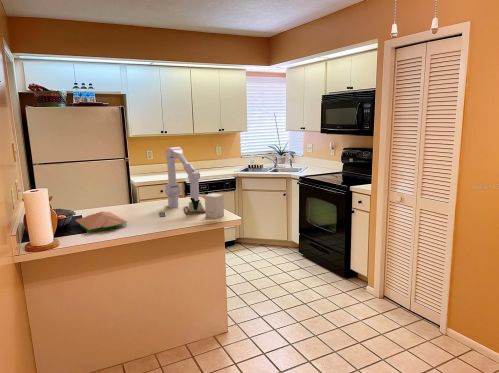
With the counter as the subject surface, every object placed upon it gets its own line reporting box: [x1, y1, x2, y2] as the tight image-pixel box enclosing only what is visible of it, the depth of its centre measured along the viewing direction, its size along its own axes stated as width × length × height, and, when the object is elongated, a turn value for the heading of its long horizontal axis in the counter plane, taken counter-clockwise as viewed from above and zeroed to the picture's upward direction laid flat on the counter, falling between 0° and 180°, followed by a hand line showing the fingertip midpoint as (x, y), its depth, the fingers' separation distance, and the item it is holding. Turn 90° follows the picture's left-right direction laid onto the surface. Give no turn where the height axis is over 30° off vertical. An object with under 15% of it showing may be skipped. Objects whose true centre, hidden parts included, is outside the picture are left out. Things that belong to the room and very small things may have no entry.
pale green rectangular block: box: [188, 200, 202, 212], centre depth 251 cm, size 4×8×7 cm, turn 106°
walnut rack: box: [183, 204, 206, 216], centre depth 255 cm, size 17×13×2 cm
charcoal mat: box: [158, 211, 166, 218], centre depth 250 cm, size 10×14×1 cm
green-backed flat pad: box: [74, 211, 128, 234], centre depth 226 cm, size 23×33×8 cm
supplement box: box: [204, 192, 225, 220], centre depth 241 cm, size 9×9×15 cm
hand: (195, 208), depth 251 cm, fingers closed on pale green rectangular block, 4 cm apart
